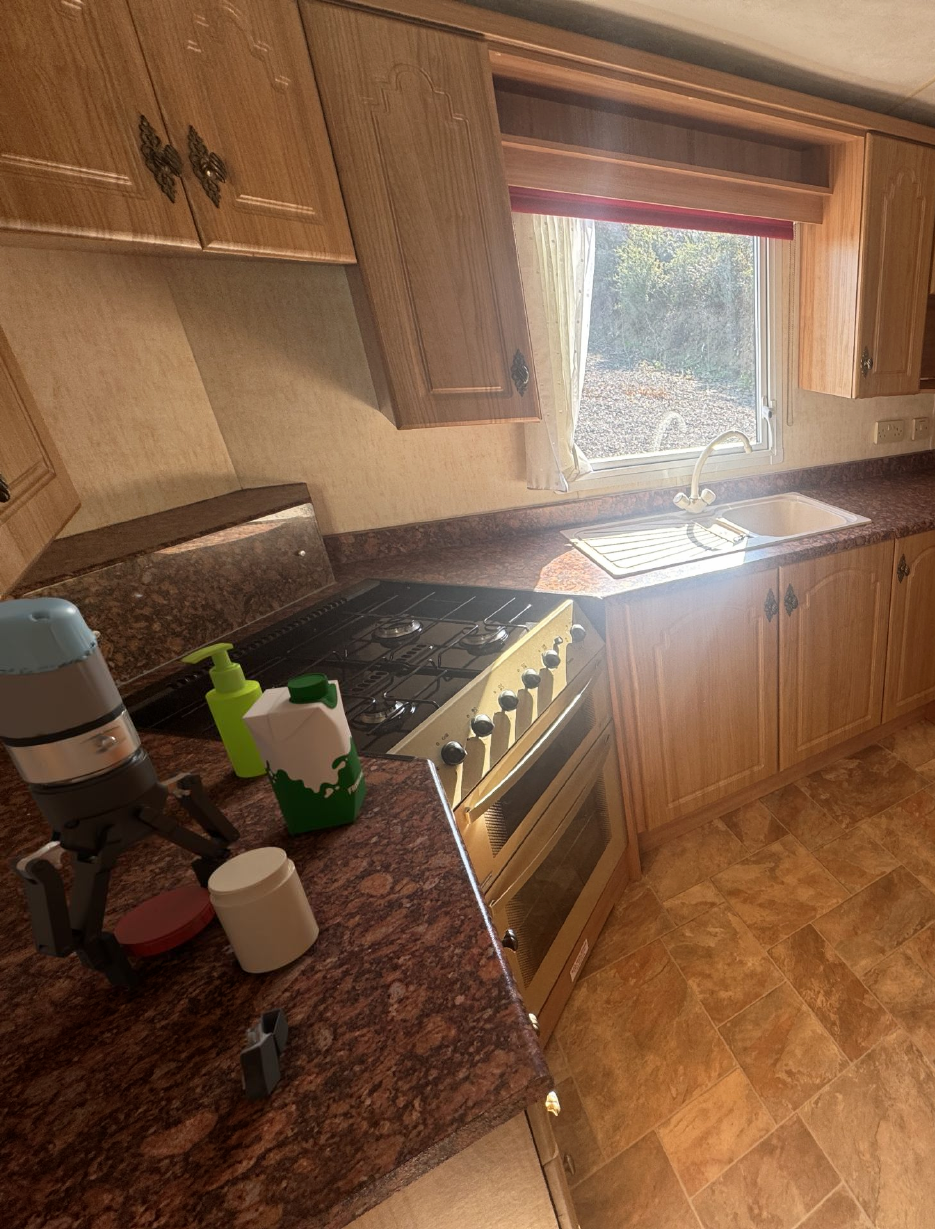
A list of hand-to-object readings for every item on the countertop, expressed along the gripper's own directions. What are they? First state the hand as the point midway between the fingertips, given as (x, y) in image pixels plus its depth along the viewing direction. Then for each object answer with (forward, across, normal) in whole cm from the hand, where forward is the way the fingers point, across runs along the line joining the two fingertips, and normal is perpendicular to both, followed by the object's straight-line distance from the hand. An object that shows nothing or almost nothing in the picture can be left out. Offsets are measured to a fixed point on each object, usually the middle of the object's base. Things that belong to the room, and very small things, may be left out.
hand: (178, 942), depth 68 cm
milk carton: (+1, +21, +3) cm, 21 cm away
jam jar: (+1, +2, -10) cm, 10 cm away
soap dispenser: (0, +27, +23) cm, 36 cm away
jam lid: (-4, 0, 0) cm, 4 cm away
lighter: (+1, -9, -21) cm, 23 cm away
